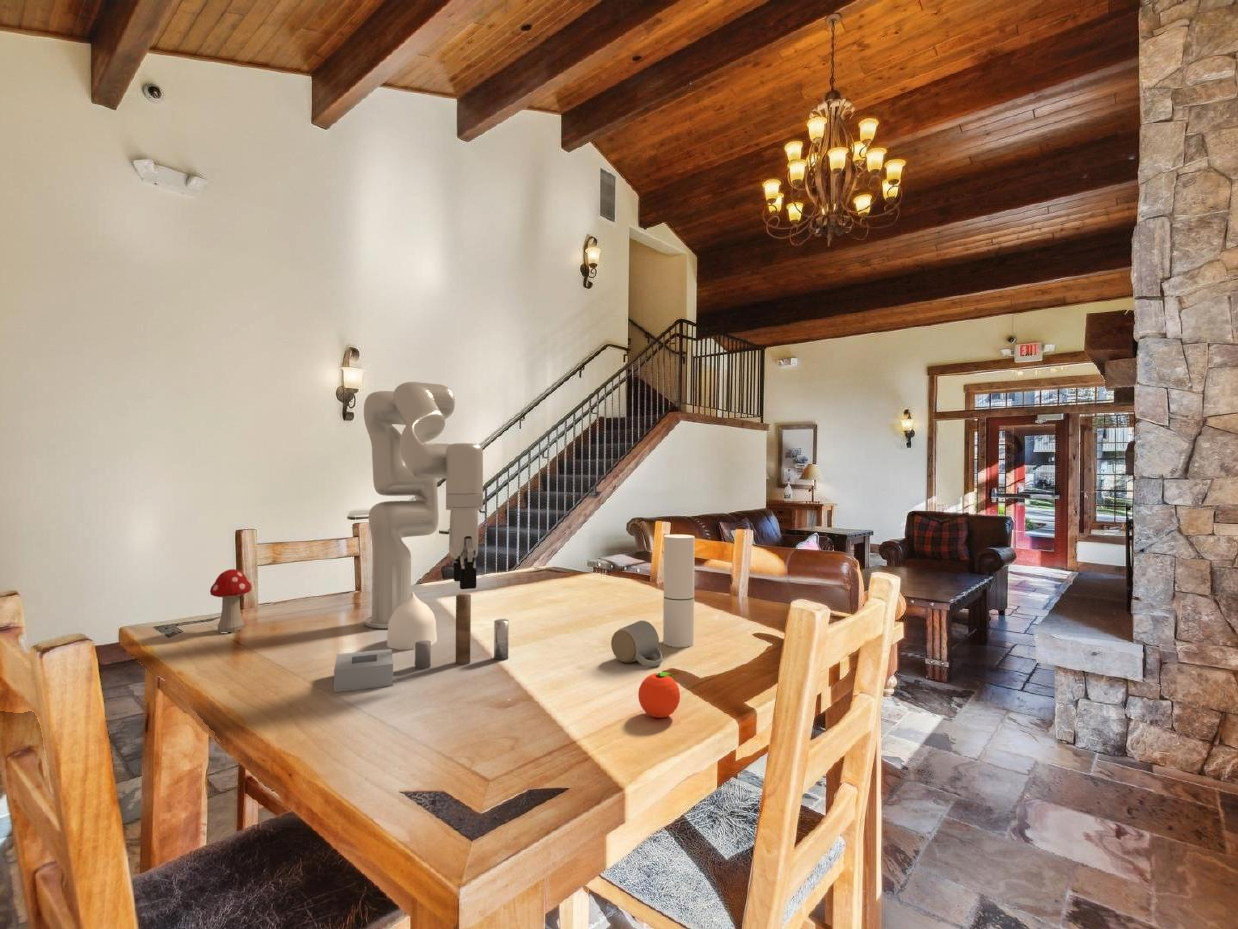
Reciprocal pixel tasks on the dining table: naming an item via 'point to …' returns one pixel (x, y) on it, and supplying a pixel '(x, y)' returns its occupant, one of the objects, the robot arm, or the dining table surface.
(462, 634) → the long pin
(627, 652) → the ceramic mug
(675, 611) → the cylindrical container
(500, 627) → the medium pin
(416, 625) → the teardrop
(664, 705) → the clementine
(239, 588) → the decorative mushroom
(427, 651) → the short pin
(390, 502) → the robot arm
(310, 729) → the dining table surface
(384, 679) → the hole block
